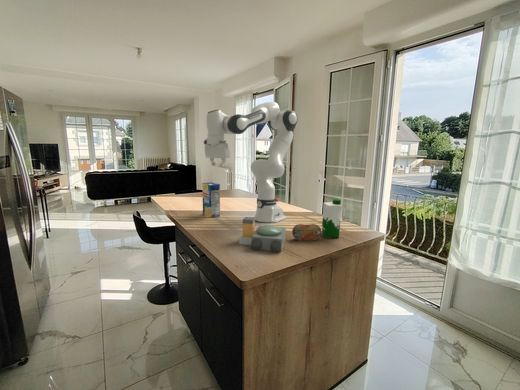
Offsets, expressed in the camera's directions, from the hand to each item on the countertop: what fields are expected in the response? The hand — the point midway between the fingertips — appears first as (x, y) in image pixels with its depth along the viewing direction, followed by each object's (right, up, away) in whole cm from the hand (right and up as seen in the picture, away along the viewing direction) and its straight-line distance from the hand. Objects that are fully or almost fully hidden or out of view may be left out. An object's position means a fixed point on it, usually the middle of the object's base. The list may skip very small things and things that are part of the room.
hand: (218, 166), depth 146 cm
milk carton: (+62, -39, -3) cm, 73 cm away
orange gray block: (+18, -40, -15) cm, 46 cm away
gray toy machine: (+24, -40, -16) cm, 50 cm away
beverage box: (-10, -30, +31) cm, 45 cm away
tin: (+47, -40, -10) cm, 62 cm away
